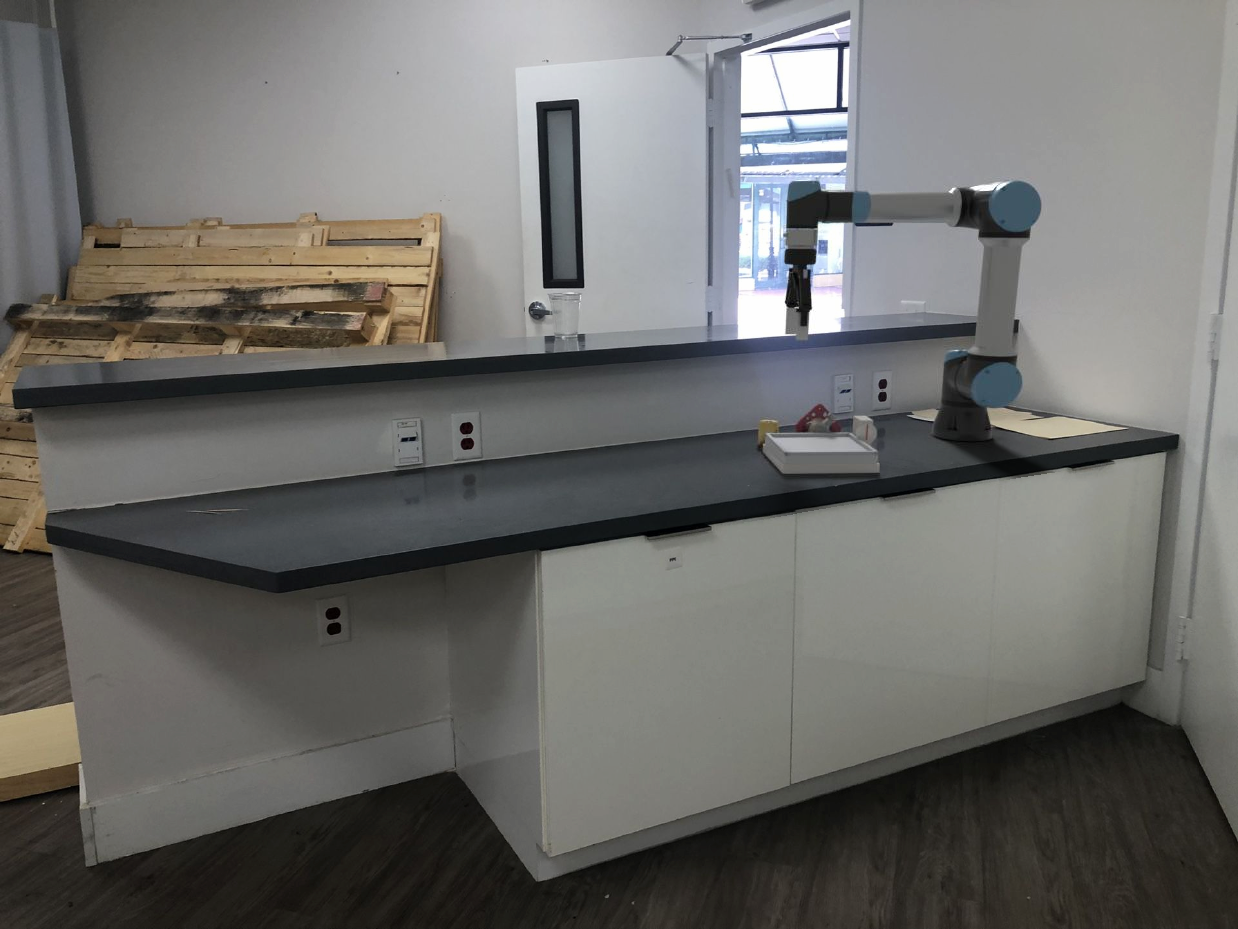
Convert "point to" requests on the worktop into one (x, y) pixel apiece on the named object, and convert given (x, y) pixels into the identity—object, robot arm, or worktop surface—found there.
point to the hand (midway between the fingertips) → (796, 337)
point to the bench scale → (825, 450)
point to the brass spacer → (766, 429)
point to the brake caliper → (818, 422)
